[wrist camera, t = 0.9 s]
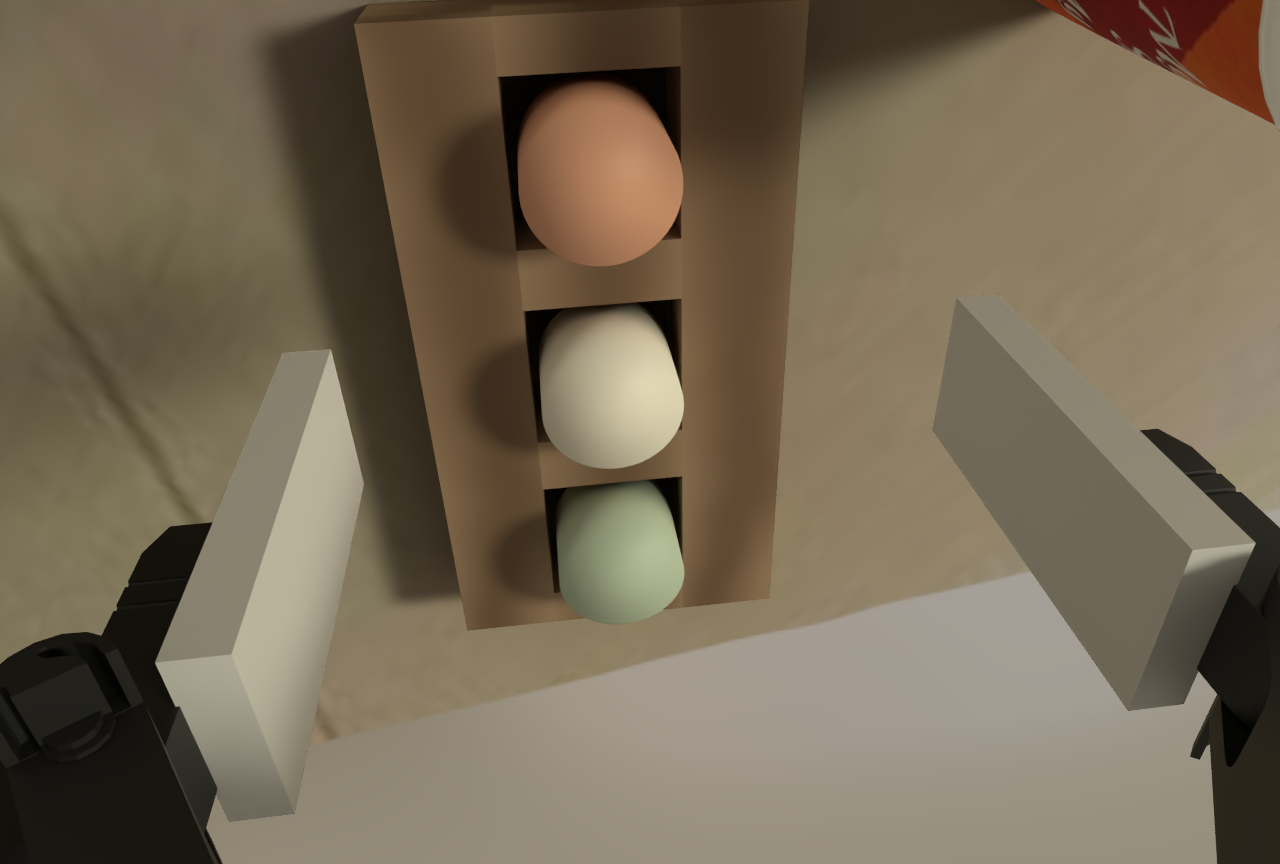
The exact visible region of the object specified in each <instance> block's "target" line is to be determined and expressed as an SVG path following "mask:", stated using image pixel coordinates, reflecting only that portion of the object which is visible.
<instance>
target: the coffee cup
mask: <svg viewBox="0 0 1280 864" xmlns="http://www.w3.org/2000/svg"><path fill="white" fill-rule="evenodd" d="M1035 1H1037V2H1039V3H1040V4H1042V5H1044V6H1046V7H1047V8H1049V9H1051V10H1053V11H1055V12H1056V13H1058V14H1060V15H1062V16H1064V17H1066V18H1068V19H1069V20H1071V21H1073V22H1075V23H1077V24H1079V25H1081V26H1083V27H1085V28H1086V29H1088V30H1090V31H1092V32H1094V33H1096V34H1098V35H1100V36H1102V37H1104V38H1106V39H1108V40H1110V41H1112V42H1114V43H1115V44H1117V45H1119V46H1121V47H1123V48H1125V49H1127V50H1129V51H1131V52H1133V53H1135V54H1137V55H1139V56H1141V57H1143V58H1145V59H1147V60H1149V61H1151V62H1152V63H1154V64H1156V65H1158V66H1160V67H1162V68H1164V69H1166V70H1168V71H1170V72H1172V73H1174V74H1176V75H1178V76H1180V77H1182V78H1184V79H1186V80H1188V81H1190V82H1192V83H1194V84H1196V85H1198V86H1200V87H1202V88H1204V89H1206V90H1208V91H1210V92H1212V93H1214V94H1216V95H1218V96H1220V97H1222V98H1224V99H1226V100H1227V101H1229V102H1231V103H1233V104H1235V105H1237V106H1239V107H1241V108H1243V109H1245V110H1247V111H1249V112H1251V113H1253V114H1255V115H1257V116H1259V117H1261V118H1263V119H1265V120H1267V121H1269V122H1271V123H1273V124H1275V125H1276V127H1277V128H1278V130H1279V131H1280V0H1035Z"/></svg>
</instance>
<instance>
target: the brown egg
mask: <svg viewBox="0 0 1280 864" xmlns="http://www.w3.org/2000/svg"><path fill="white" fill-rule="evenodd" d="M517 155H518V186H519V199H520V205H521V208H522V211H523V215H524V217H525V219H526V221H527V224H528V226H529V227H530V229H531V230H532V232H533V233H534V235H535V236H536V237H537V238H538V239H539V241H540V242H541V243H542V244H544V245H545V246H546V247H547V248H548V249H549V250H551V251H552V252H554V253H555V254H556V255H558V256H560V257H562V258H564V259H566V260H569V261H571V262H574V263H578V264H582V265H587V266H612V265H617V264H621V263H625V262H628V261H630V260H633V259H635V258H637V257H639V256H641V255H643V254H645V253H646V252H647V251H649V250H650V249H652V248H653V247H654V246H655V245H656V244H657V243H658V242H659V241H660V240H661V239H662V238H663V237H664V236H665V235H666V233H667V232H668V231H669V229H670V228H671V226H672V224H673V223H674V221H675V218H676V216H677V214H678V211H679V208H680V205H681V201H682V196H683V173H682V168H681V163H680V160H679V157H678V154H677V152H676V150H675V148H674V146H673V144H672V142H671V140H670V138H669V136H668V134H667V132H666V130H665V128H664V126H663V124H662V122H661V120H660V118H659V116H658V114H657V112H656V110H655V108H654V107H653V105H652V104H651V102H650V101H649V100H648V98H647V97H646V96H645V95H644V94H643V93H642V92H641V91H640V90H639V89H637V88H636V87H635V86H634V85H632V84H631V83H629V82H627V81H626V80H623V79H621V78H619V77H617V76H614V75H610V74H606V73H600V72H583V73H576V74H572V75H569V76H566V77H563V78H561V79H559V80H557V81H555V82H553V83H552V84H550V85H549V86H547V87H546V88H545V89H544V90H542V91H541V92H540V93H539V94H538V95H537V96H536V97H535V98H534V100H533V101H532V103H531V104H530V105H529V107H528V109H527V110H526V112H525V114H524V116H523V119H522V122H521V124H520V128H519V133H518V140H517Z"/></svg>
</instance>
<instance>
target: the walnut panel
mask: <svg viewBox="0 0 1280 864" xmlns="http://www.w3.org/2000/svg"><path fill="white" fill-rule="evenodd" d="M809 1H810V0H440V1H421V2H401V3H382V4H368V5H367V7H366V8H365V9H364V11H363V12H362V13H361V15H360V16H359V18H358V19H357V20H356V22H355V23H354V27H355V33H356V38H357V43H358V49H359V54H360V60H361V65H362V70H363V76H364V81H365V86H366V92H367V97H368V102H369V108H370V113H371V118H372V124H373V129H374V134H375V140H376V145H377V150H378V156H379V161H380V166H381V172H382V177H383V182H384V188H385V193H386V198H387V204H388V209H389V214H390V220H391V225H392V230H393V236H394V241H395V246H396V252H397V257H398V262H399V268H400V273H401V278H402V284H403V289H404V294H405V300H406V305H407V310H408V316H409V321H410V326H411V332H412V337H413V342H414V348H415V353H416V358H417V364H418V369H419V374H420V380H421V385H422V390H423V396H424V401H425V406H426V412H427V417H428V422H429V428H430V433H431V438H432V444H433V449H434V454H435V460H436V465H437V470H438V476H439V481H440V486H441V492H442V497H443V502H444V508H445V513H446V518H447V524H448V529H449V535H450V540H451V545H452V551H453V556H454V561H455V567H456V572H457V577H458V583H459V588H460V593H461V599H462V604H463V609H464V615H465V620H466V625H467V631H468V630H477V629H487V628H496V627H505V626H515V625H524V624H533V623H543V622H552V621H561V620H570V619H580V618H585V617H583V616H581V615H580V614H578V613H577V612H575V611H574V610H573V609H572V608H571V607H570V606H569V605H568V604H567V603H566V601H565V599H564V598H563V595H562V593H561V589H560V582H559V567H558V553H557V542H551V538H550V528H549V519H548V510H547V501H546V491H545V489H554V488H565V487H575V486H585V485H596V484H606V483H617V482H627V481H638V480H648V479H659V478H669V477H671V514H672V518H673V522H674V527H675V531H676V535H677V539H678V544H679V548H680V552H681V556H682V561H683V565H684V580H683V584H682V587H681V589H680V591H679V593H678V594H677V596H676V597H675V598H674V600H673V601H672V602H671V603H670V604H669V605H668V606H667V607H665V608H664V609H673V608H682V607H691V606H701V605H710V604H719V603H729V602H738V601H747V600H757V599H766V598H769V594H770V579H771V564H772V549H773V534H774V520H775V505H776V490H777V475H778V460H779V445H780V431H781V416H782V401H783V386H784V371H785V356H786V342H787V327H788V312H789V297H790V282H791V268H792V253H793V238H794V223H795V208H796V193H797V179H798V164H799V149H800V134H801V119H802V104H803V90H804V75H805V60H806V45H807V30H808V15H809ZM657 67H665V69H666V132H667V134H668V136H669V138H670V140H671V142H672V144H673V146H674V148H675V150H676V152H677V154H678V157H679V160H680V163H681V168H682V173H683V196H682V201H681V205H680V208H679V211H678V214H677V216H676V218H675V221H674V223H673V224H672V226H671V228H670V229H669V231H668V232H667V233H666V235H665V236H664V237H663V238H662V239H661V240H660V241H659V242H658V243H657V244H656V245H655V246H654V247H653V248H652V249H650V250H649V251H647V252H646V253H645V254H643V255H641V256H639V257H637V258H635V259H633V260H630V261H628V262H625V263H621V264H617V265H612V266H587V265H582V264H578V263H574V262H571V261H569V260H566V259H564V258H562V257H560V256H558V255H556V254H555V253H554V252H552V251H551V250H549V249H548V248H547V247H546V246H545V245H544V244H542V243H541V242H540V241H539V239H538V238H537V237H536V236H535V235H534V233H533V232H532V230H531V229H530V227H529V226H528V224H527V221H526V219H525V217H524V215H516V214H515V205H514V196H513V186H512V177H511V168H510V159H509V149H508V140H507V131H506V122H505V112H504V103H503V94H502V85H501V77H502V76H520V75H537V74H554V73H571V72H588V71H606V70H623V69H640V68H657ZM658 300H668V303H669V350H670V353H671V356H672V360H673V363H674V366H675V369H676V373H677V376H678V379H679V382H680V386H681V389H682V393H683V398H684V411H683V416H682V421H681V423H680V426H679V428H678V430H677V432H676V434H675V435H674V437H673V438H672V439H671V441H670V442H669V443H668V444H667V445H666V446H665V447H664V448H663V449H662V450H661V451H659V452H658V453H657V454H655V455H654V456H652V457H651V458H649V459H647V460H645V461H643V462H640V463H638V464H635V465H632V466H628V467H623V468H615V469H603V468H595V467H590V466H586V465H583V464H580V463H578V462H576V461H573V460H572V459H570V458H568V457H567V456H565V455H564V454H563V453H562V452H560V451H559V450H558V449H557V448H556V447H555V446H554V444H553V443H552V442H551V440H550V439H549V437H548V435H547V433H546V431H545V428H544V425H543V419H542V407H541V397H535V390H534V380H533V371H532V362H531V353H530V343H529V334H528V325H527V316H526V311H531V310H544V309H557V308H569V307H582V306H594V305H607V304H620V303H632V302H645V301H658ZM664 609H663V610H664Z"/></svg>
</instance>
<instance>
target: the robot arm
mask: <svg viewBox="0 0 1280 864" xmlns="http://www.w3.org/2000/svg"><path fill="white" fill-rule="evenodd" d="M933 431H934V433H935V434H936V436H937V437H938V438H939V440H940V441H941V443H942V444H943V446H944V447H945V449H946V450H947V451H948V453H949V454H950V456H951V457H952V459H953V460H954V461H955V463H956V464H957V466H958V467H959V469H960V470H961V471H962V473H963V474H964V476H965V477H966V479H967V480H968V482H969V483H970V484H971V486H972V487H973V489H974V490H975V492H976V493H977V494H978V496H979V497H980V499H981V500H982V502H983V503H984V505H985V506H986V507H987V509H988V510H989V512H990V513H991V515H992V516H993V517H994V519H995V520H996V522H997V523H998V525H999V526H1000V528H1001V529H1002V530H1003V532H1004V533H1005V535H1006V536H1007V538H1008V539H1009V540H1010V542H1011V543H1012V545H1013V546H1014V548H1015V549H1016V551H1017V552H1018V553H1019V555H1020V556H1021V558H1022V559H1023V561H1024V562H1025V563H1026V565H1027V566H1028V568H1029V569H1030V571H1031V572H1032V574H1033V575H1034V576H1035V578H1036V579H1037V581H1038V582H1039V584H1040V585H1041V586H1042V588H1043V589H1044V591H1045V592H1046V593H1047V595H1048V597H1049V598H1050V599H1051V601H1052V602H1053V604H1054V605H1055V607H1056V608H1057V609H1058V611H1059V612H1060V614H1061V615H1062V616H1063V618H1064V619H1065V621H1066V622H1067V624H1068V625H1069V627H1070V628H1071V630H1072V631H1073V632H1074V634H1075V635H1076V637H1077V638H1078V640H1079V641H1080V642H1081V644H1082V645H1083V647H1084V648H1085V650H1086V651H1087V652H1088V654H1089V655H1090V657H1091V658H1092V660H1093V661H1094V663H1095V664H1096V665H1097V667H1098V668H1099V670H1100V671H1101V673H1102V674H1103V676H1104V677H1105V678H1106V680H1107V681H1108V683H1109V684H1110V686H1111V687H1112V688H1113V690H1114V691H1115V693H1116V694H1117V696H1118V697H1119V698H1120V700H1121V701H1122V703H1123V704H1124V706H1125V707H1126V709H1127V710H1128V711H1130V710H1138V709H1147V708H1154V707H1163V706H1170V705H1179V704H1184V702H1185V700H1186V697H1187V695H1188V693H1189V691H1190V689H1191V686H1192V684H1193V682H1194V680H1195V677H1196V675H1197V673H1198V671H1199V672H1200V673H1201V675H1202V676H1203V677H1204V678H1205V679H1206V681H1207V682H1208V683H1209V684H1210V686H1211V687H1212V688H1213V689H1214V691H1215V692H1216V693H1217V696H1216V698H1215V700H1214V702H1213V704H1212V706H1211V708H1210V710H1209V713H1208V715H1207V717H1206V719H1205V721H1204V723H1203V725H1202V727H1201V730H1200V732H1199V734H1198V736H1197V738H1196V740H1195V742H1194V744H1193V748H1192V752H1191V756H1190V757H1193V758H1196V759H1200V758H1201V756H1202V754H1203V752H1204V750H1205V748H1206V746H1207V745H1209V744H1210V752H1211V767H1212V768H1211V769H1212V785H1213V802H1214V817H1215V835H1216V851H1217V864H1280V528H1279V527H1278V526H1277V525H1276V524H1275V523H1274V522H1273V521H1272V520H1271V519H1270V518H1268V517H1267V516H1266V515H1265V514H1264V513H1263V512H1262V511H1261V510H1260V509H1259V508H1258V507H1257V506H1255V505H1254V504H1253V503H1252V502H1251V501H1250V500H1249V499H1248V498H1247V497H1246V496H1245V495H1244V494H1242V493H1241V492H1236V487H1235V486H1234V485H1233V484H1232V483H1230V482H1229V481H1228V480H1227V479H1226V478H1225V477H1224V476H1223V475H1222V474H1217V473H1216V469H1215V468H1214V467H1213V466H1212V465H1211V464H1210V463H1209V462H1208V461H1207V460H1205V459H1204V458H1203V457H1202V456H1201V455H1200V454H1199V453H1198V452H1197V451H1196V450H1195V449H1194V448H1192V447H1191V446H1189V445H1187V444H1185V443H1183V442H1182V441H1180V440H1178V439H1176V438H1174V437H1172V436H1170V435H1168V434H1166V433H1165V432H1163V431H1161V430H1159V429H1150V430H1139V429H1138V428H1137V427H1136V426H1134V425H1133V424H1132V423H1131V422H1130V421H1129V420H1128V419H1127V418H1126V417H1125V416H1124V415H1123V414H1122V413H1121V412H1120V411H1119V410H1118V409H1117V408H1116V407H1115V406H1114V405H1113V404H1112V403H1111V402H1110V401H1109V400H1108V399H1107V398H1106V397H1105V396H1104V395H1103V394H1101V393H1100V392H1099V391H1098V390H1097V389H1096V388H1095V387H1094V386H1093V385H1092V384H1091V383H1090V382H1089V381H1088V380H1087V379H1086V378H1085V377H1084V376H1083V375H1082V374H1081V373H1080V372H1079V371H1078V370H1077V369H1076V368H1075V367H1074V366H1073V365H1072V364H1071V363H1069V362H1068V361H1067V360H1066V359H1065V358H1064V357H1063V356H1062V355H1061V354H1060V353H1059V352H1058V351H1057V350H1056V349H1055V348H1054V347H1053V346H1052V345H1051V344H1050V343H1049V342H1048V341H1047V340H1046V339H1045V338H1044V337H1043V336H1042V335H1041V334H1040V333H1039V332H1038V331H1036V330H1035V329H1034V328H1033V327H1032V326H1031V325H1030V324H1029V323H1028V322H1027V321H1026V320H1025V319H1024V318H1023V317H1022V316H1021V315H1020V314H1019V313H1018V312H1017V311H1016V310H1015V309H1014V308H1013V307H1012V306H1011V305H1010V304H1009V303H1008V302H1007V301H1006V300H1004V299H1003V298H1002V297H1001V296H1000V295H999V294H994V295H982V296H970V297H957V298H956V302H955V308H954V314H953V319H952V325H951V330H950V336H949V342H948V347H947V353H946V359H945V364H944V370H943V375H942V381H941V387H940V392H939V398H938V404H937V409H936V415H935V420H934V426H933ZM363 486H364V482H363V478H362V474H361V470H360V466H359V462H358V458H357V454H356V450H355V446H354V442H353V437H352V433H351V429H350V425H349V421H348V417H347V413H346V409H345V405H344V401H343V397H342V393H341V389H340V384H339V380H338V376H337V372H336V368H335V364H334V360H333V356H332V352H331V349H326V350H313V351H301V352H289V353H282V356H281V358H280V361H279V363H278V366H277V368H276V370H275V373H274V375H273V378H272V380H271V383H270V385H269V387H268V390H267V392H266V395H265V397H264V400H263V402H262V404H261V407H260V409H259V412H258V414H257V416H256V419H255V421H254V424H253V426H252V429H251V431H250V433H249V436H248V438H247V441H246V443H245V446H244V448H243V450H242V453H241V455H240V458H239V460H238V463H237V465H236V467H235V470H234V472H233V475H232V477H231V480H230V482H229V484H228V487H227V489H226V492H225V494H224V497H223V499H222V501H221V504H220V506H219V509H218V511H217V513H216V516H215V518H214V521H213V522H212V523H202V524H191V525H181V526H171V527H169V528H168V529H167V530H166V531H165V532H164V533H163V534H162V535H161V536H160V537H159V538H158V539H156V540H155V541H154V542H153V543H152V544H151V545H150V546H149V547H148V548H147V549H146V550H145V551H144V552H143V553H142V554H141V556H140V558H139V560H138V562H137V565H136V567H135V569H134V571H133V573H132V575H131V577H130V579H129V581H128V583H129V586H128V587H125V589H124V591H123V593H122V595H121V597H120V599H119V601H118V603H117V611H113V613H112V615H111V617H110V620H109V622H108V624H107V626H106V628H105V630H104V632H103V634H102V636H100V635H97V634H93V633H89V632H81V633H69V634H61V635H57V636H54V637H51V638H48V639H45V640H42V641H39V642H35V643H33V644H31V645H30V646H28V647H26V648H24V649H22V650H21V651H19V652H17V653H15V654H13V655H12V656H10V657H8V658H7V659H6V660H5V661H3V662H2V663H1V664H0V864H222V862H221V859H220V857H219V854H218V852H217V850H216V848H215V845H214V843H213V841H212V839H211V837H210V835H209V833H208V832H207V829H206V826H207V823H208V819H209V816H210V812H211V809H212V806H213V802H214V799H215V795H217V797H218V799H219V801H220V803H221V805H222V807H223V810H224V812H225V814H226V816H227V818H228V820H229V821H230V822H231V821H239V820H247V819H256V818H263V817H272V816H280V815H288V814H295V810H296V805H297V800H298V795H299V790H300V786H301V781H302V776H303V772H304V767H305V762H306V757H307V752H308V748H309V743H310V738H311V734H312V729H313V724H314V719H315V714H316V710H317V705H318V700H319V695H320V691H321V686H322V681H323V676H324V672H325V667H326V662H327V657H328V653H329V648H330V643H331V638H332V634H333V629H334V624H335V619H336V615H337V610H338V605H339V600H340V596H341V591H342V586H343V581H344V577H345V572H346V567H347V562H348V557H349V553H350V548H351V543H352V538H353V534H354V529H355V524H356V519H357V515H358V510H359V505H360V500H361V496H362V491H363Z"/></svg>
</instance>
